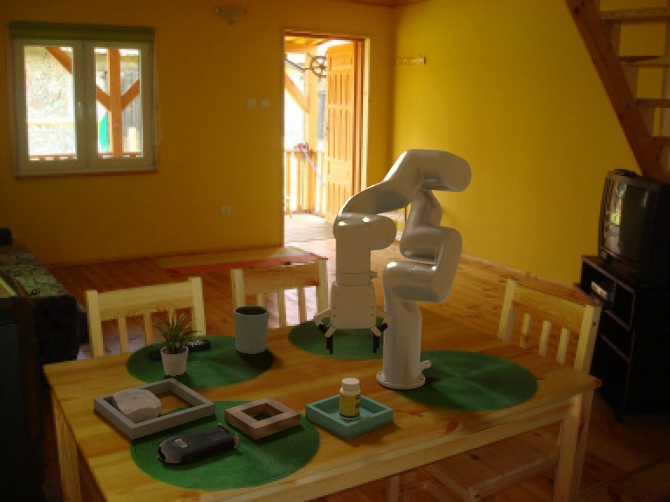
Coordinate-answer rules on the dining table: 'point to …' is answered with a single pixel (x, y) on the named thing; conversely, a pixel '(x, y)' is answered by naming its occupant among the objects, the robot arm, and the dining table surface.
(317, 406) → the tray
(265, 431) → the square wooden frame
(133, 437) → the gray rectangular frame
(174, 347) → the house plant
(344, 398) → the supplement bottle
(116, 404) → the stone block
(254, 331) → the gray cup
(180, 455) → the electronic device
